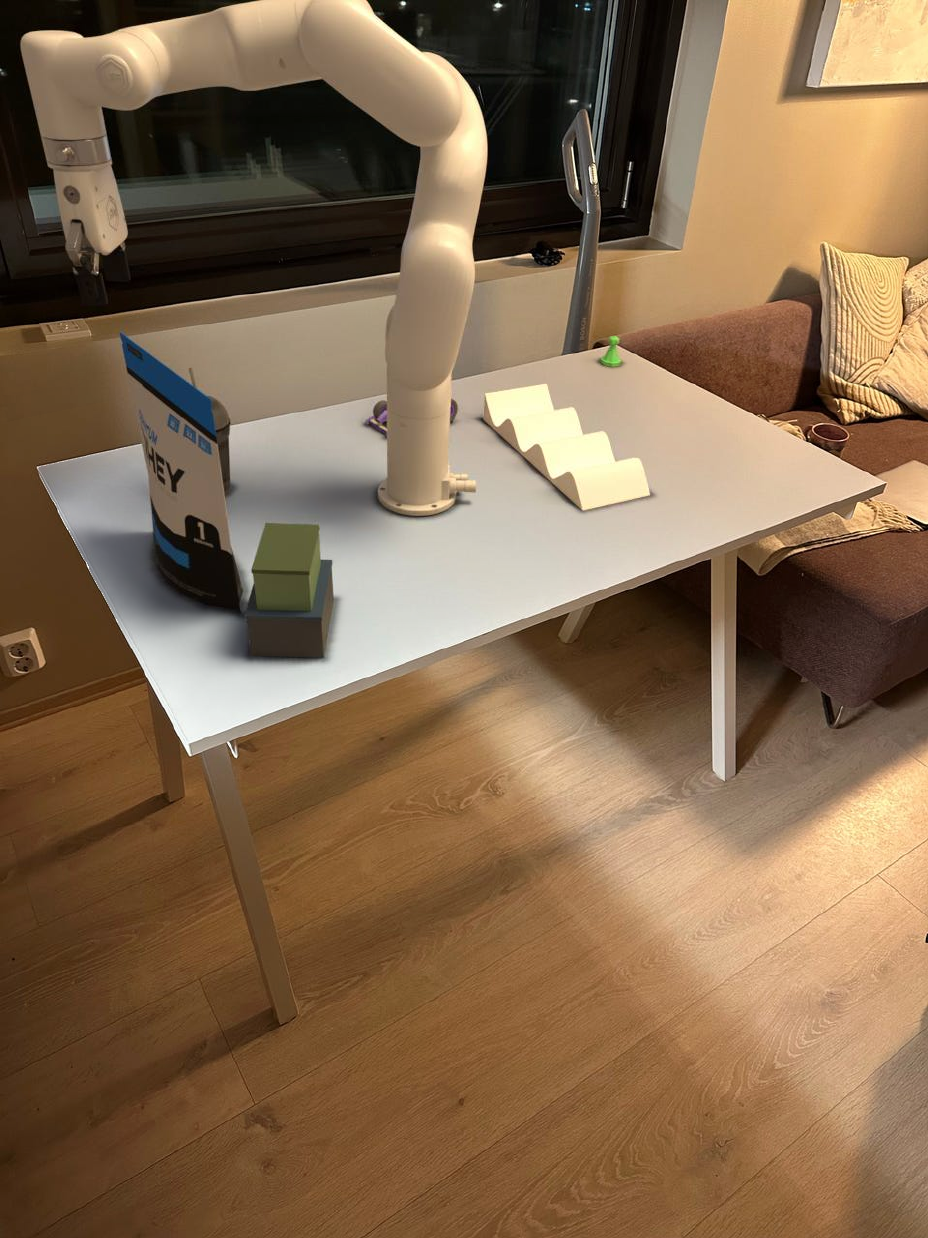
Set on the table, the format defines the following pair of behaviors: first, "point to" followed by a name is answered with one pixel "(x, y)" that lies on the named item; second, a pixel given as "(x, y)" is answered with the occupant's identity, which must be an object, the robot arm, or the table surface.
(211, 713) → the table surface
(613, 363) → the game piece
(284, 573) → the olive green rectangular box
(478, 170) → the robot arm
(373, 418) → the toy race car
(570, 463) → the cream wavy block
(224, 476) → the beverage cup
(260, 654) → the storage box
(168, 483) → the protein powder
